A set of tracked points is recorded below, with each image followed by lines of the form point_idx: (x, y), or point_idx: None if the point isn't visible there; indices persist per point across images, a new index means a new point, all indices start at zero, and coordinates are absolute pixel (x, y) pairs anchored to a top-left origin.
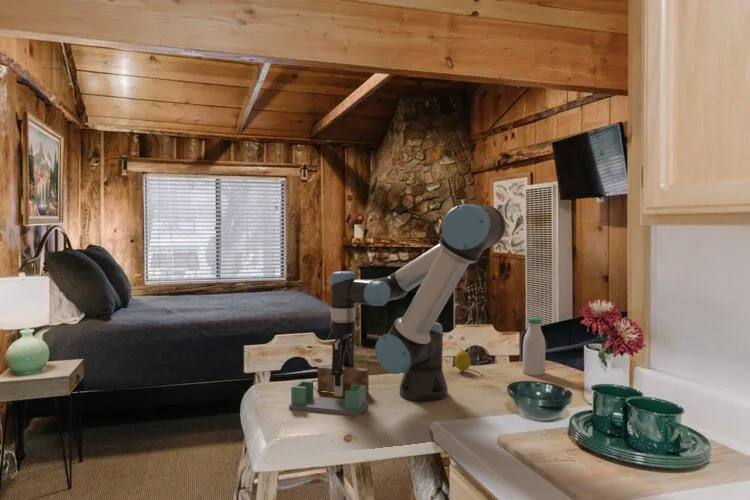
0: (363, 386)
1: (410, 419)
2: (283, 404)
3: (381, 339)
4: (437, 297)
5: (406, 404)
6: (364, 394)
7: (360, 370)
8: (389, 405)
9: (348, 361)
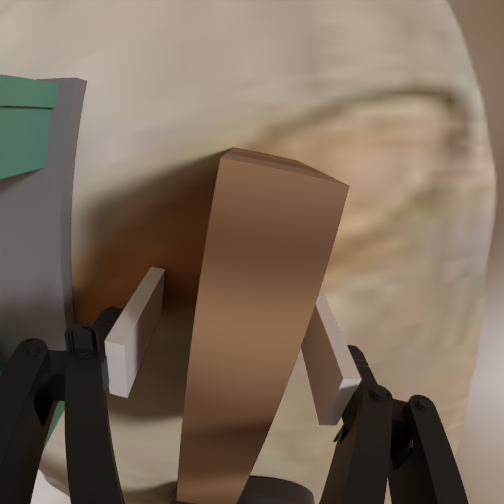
0: None
1: (43, 456)
2: (24, 32)
3: None
4: None
5: (137, 475)
6: None
7: (183, 487)
8: None
9: (335, 460)
